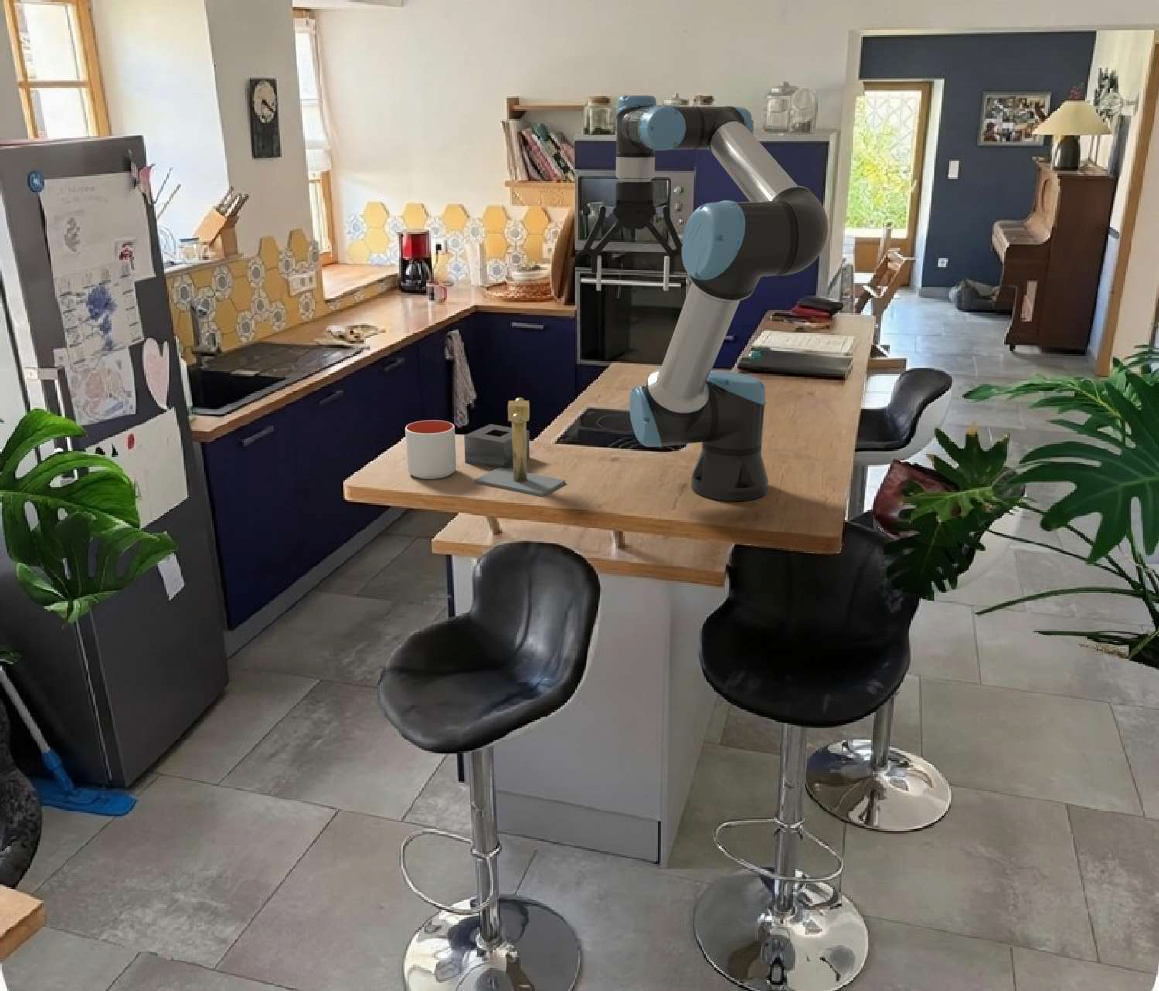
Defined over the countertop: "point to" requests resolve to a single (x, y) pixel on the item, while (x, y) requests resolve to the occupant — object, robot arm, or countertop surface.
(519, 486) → the mat
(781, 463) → the countertop surface
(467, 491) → the countertop surface
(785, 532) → the countertop surface
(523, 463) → the brass ball-end t-bar
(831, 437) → the countertop surface
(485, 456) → the block
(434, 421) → the cup
